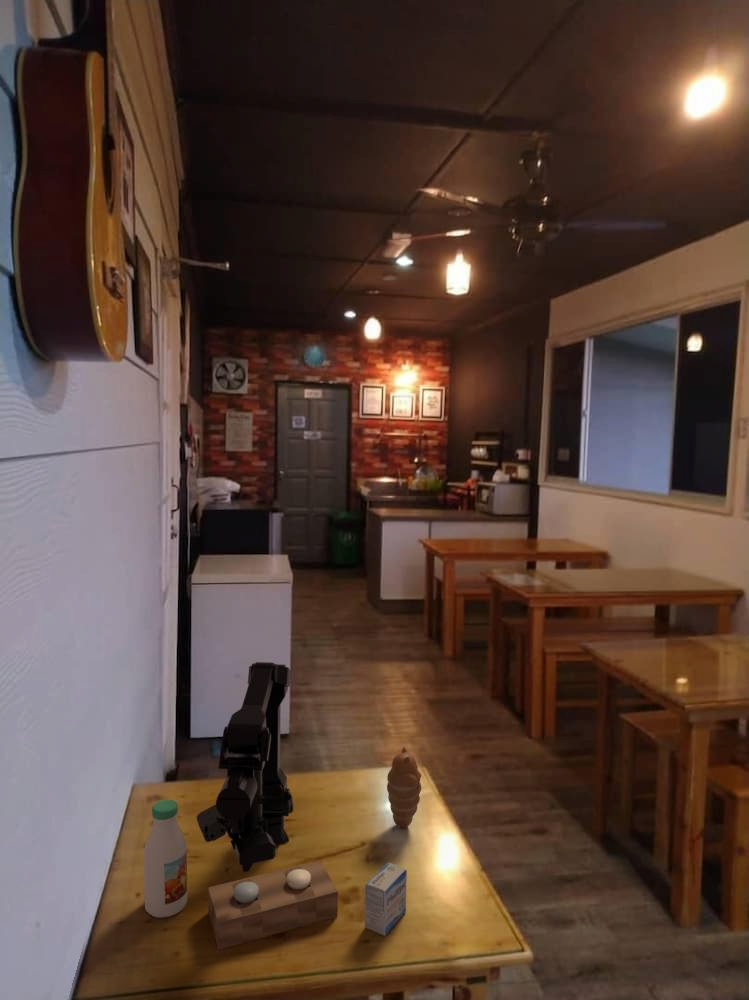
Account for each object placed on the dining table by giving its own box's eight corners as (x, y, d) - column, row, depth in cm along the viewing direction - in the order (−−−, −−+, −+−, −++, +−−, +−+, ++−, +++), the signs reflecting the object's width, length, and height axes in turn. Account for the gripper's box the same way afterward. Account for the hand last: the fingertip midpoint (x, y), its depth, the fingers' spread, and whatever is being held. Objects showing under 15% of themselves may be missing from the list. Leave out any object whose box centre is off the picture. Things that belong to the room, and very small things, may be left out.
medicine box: (384, 937, 124) (385, 892, 123) (363, 927, 126) (364, 883, 125) (406, 912, 130) (407, 868, 129) (386, 903, 133) (387, 860, 132)
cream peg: (284, 899, 132) (284, 872, 131) (306, 893, 134) (306, 866, 133) (290, 914, 128) (290, 886, 127) (313, 908, 130) (313, 880, 129)
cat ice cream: (423, 836, 154) (425, 759, 152) (389, 839, 153) (390, 761, 151) (415, 814, 163) (417, 741, 161) (383, 816, 162) (384, 743, 160)
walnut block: (208, 912, 129) (208, 887, 128) (320, 883, 138) (320, 860, 137) (218, 949, 120) (218, 923, 119) (337, 916, 129) (337, 891, 128)
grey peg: (231, 913, 128) (231, 885, 127) (255, 906, 130) (255, 879, 129) (236, 928, 124) (236, 900, 123) (260, 922, 126) (260, 894, 125)
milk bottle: (148, 924, 126) (146, 820, 124) (141, 898, 132) (139, 799, 130) (191, 911, 129) (190, 810, 127) (182, 887, 136) (181, 790, 134)
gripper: (192, 773, 129) (192, 851, 131) (209, 825, 112) (210, 915, 114) (251, 762, 134) (250, 839, 135) (276, 812, 117) (276, 898, 118)
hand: (246, 870), depth 126 cm, fingers closed
